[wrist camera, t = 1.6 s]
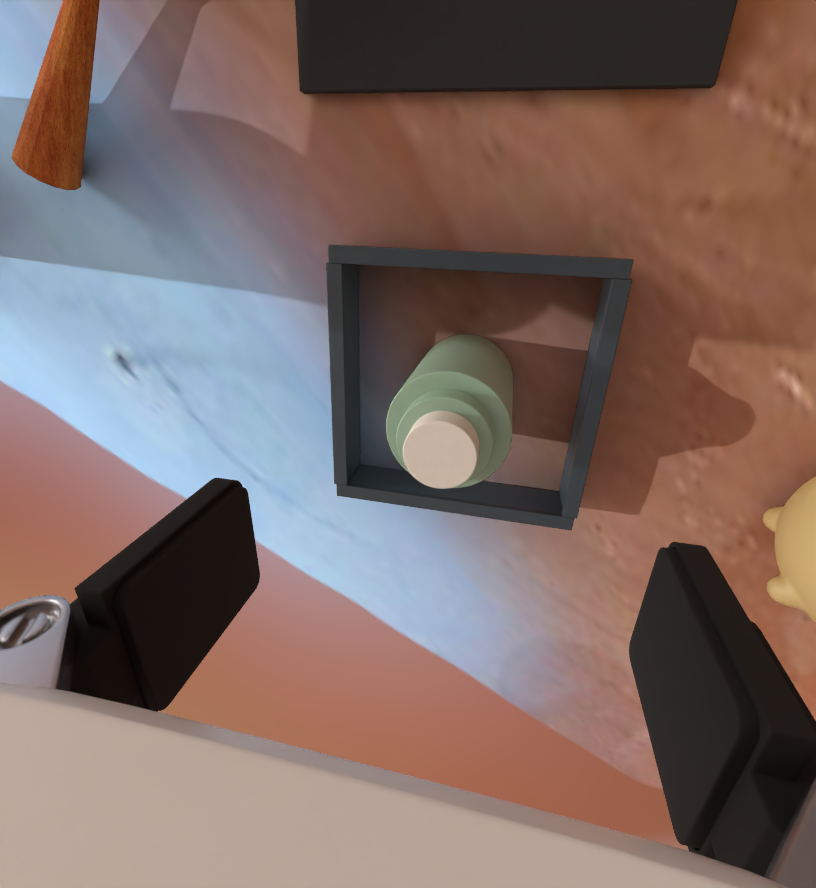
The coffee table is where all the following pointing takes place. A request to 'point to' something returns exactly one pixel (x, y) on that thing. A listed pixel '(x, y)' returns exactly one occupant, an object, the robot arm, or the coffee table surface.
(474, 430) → the detergent bottle
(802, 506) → the toy pig
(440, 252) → the rectangular frame
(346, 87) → the mat
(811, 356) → the coffee table surface
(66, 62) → the kendama
